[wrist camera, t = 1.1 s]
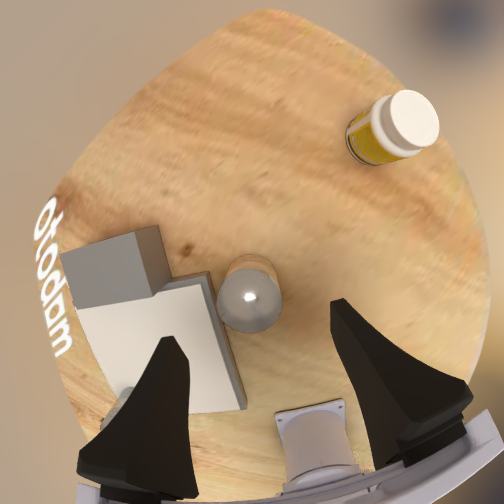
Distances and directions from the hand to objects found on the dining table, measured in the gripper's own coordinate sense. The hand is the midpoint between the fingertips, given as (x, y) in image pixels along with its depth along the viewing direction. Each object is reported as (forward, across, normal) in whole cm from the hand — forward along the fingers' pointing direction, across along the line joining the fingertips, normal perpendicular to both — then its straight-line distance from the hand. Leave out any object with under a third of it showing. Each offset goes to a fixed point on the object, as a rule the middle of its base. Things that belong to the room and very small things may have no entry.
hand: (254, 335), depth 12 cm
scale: (+10, +11, +9) cm, 17 cm away
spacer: (+11, 0, +5) cm, 12 cm away
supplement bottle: (+14, -13, -4) cm, 20 cm away
